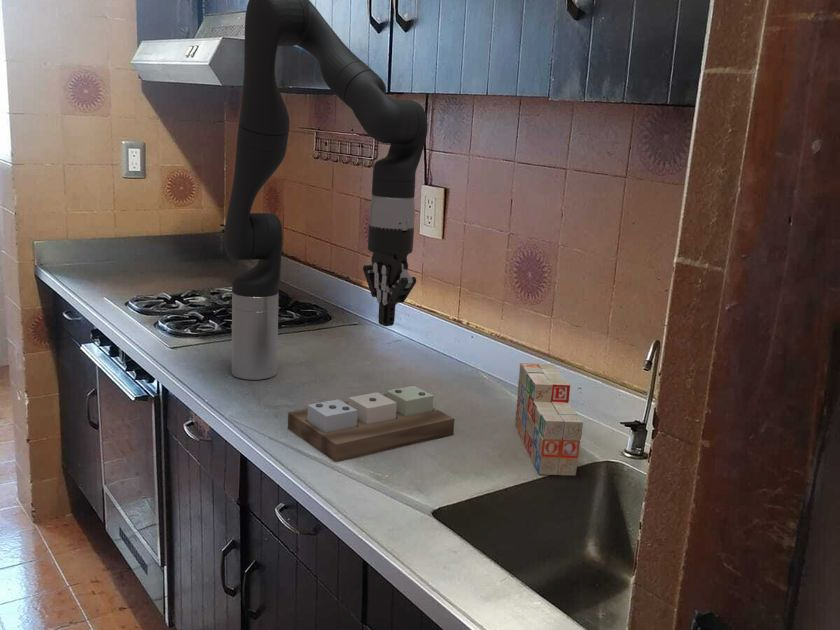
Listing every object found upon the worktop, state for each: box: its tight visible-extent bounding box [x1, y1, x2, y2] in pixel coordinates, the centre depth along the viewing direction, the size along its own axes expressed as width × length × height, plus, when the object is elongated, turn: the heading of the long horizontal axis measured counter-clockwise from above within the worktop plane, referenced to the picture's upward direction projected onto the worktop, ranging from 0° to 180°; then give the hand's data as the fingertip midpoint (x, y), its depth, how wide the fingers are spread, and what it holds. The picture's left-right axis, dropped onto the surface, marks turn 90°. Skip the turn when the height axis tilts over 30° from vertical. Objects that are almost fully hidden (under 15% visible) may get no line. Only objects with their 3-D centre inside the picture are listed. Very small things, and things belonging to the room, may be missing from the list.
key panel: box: [287, 393, 455, 463], centre depth 140 cm, size 16×24×3 cm, turn 127°
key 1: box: [347, 391, 397, 425], centre depth 140 cm, size 6×6×3 cm
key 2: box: [386, 385, 434, 417], centre depth 145 cm, size 6×6×3 cm
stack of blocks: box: [514, 362, 584, 476], centre depth 137 cm, size 21×6×12 cm, turn 4°
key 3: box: [307, 398, 357, 433], centre depth 135 cm, size 6×6×3 cm
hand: (386, 324), depth 138 cm, fingers closed
